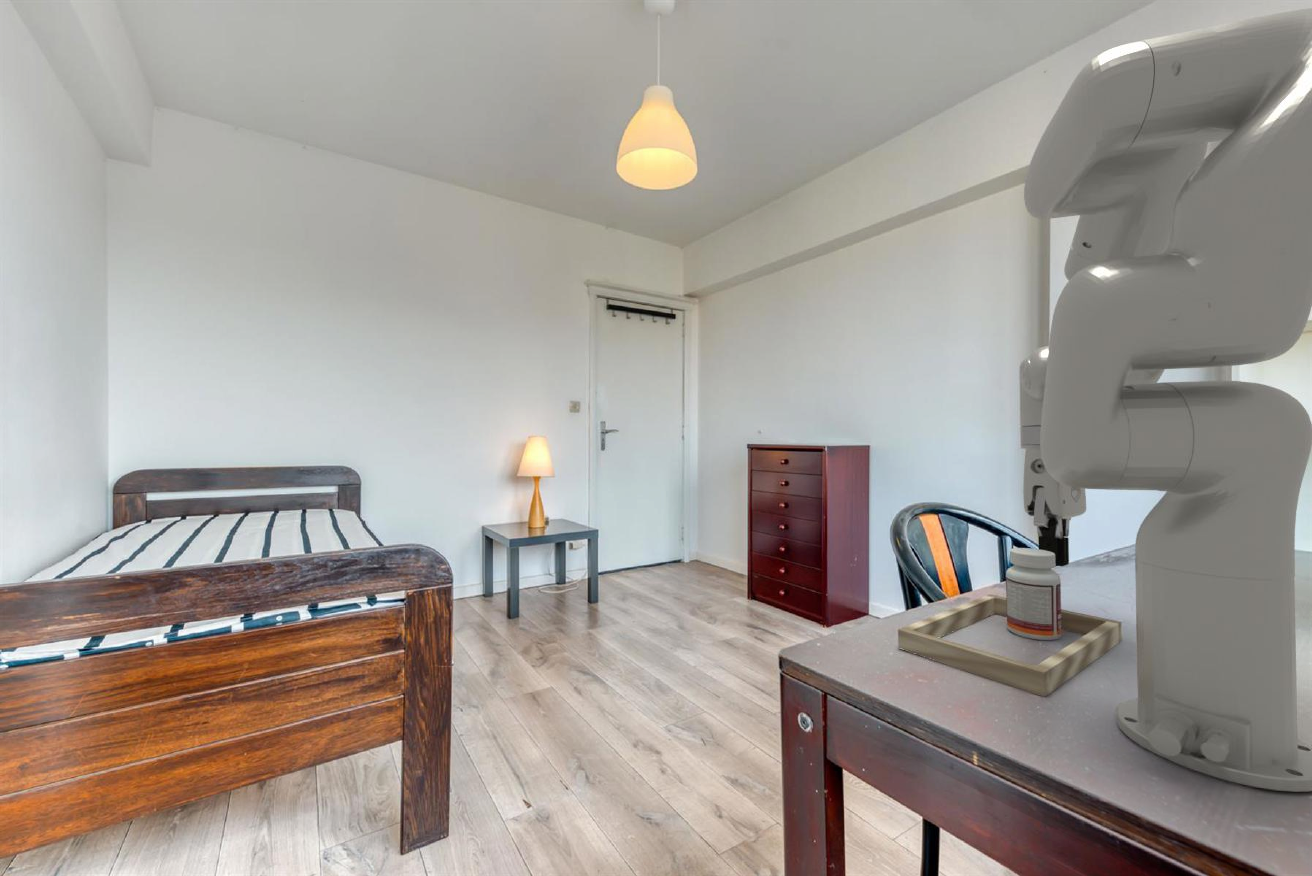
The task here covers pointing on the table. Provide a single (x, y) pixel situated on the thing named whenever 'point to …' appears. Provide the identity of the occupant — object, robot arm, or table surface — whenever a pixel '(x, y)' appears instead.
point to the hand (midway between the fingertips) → (1053, 563)
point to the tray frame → (1005, 670)
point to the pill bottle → (1033, 595)
